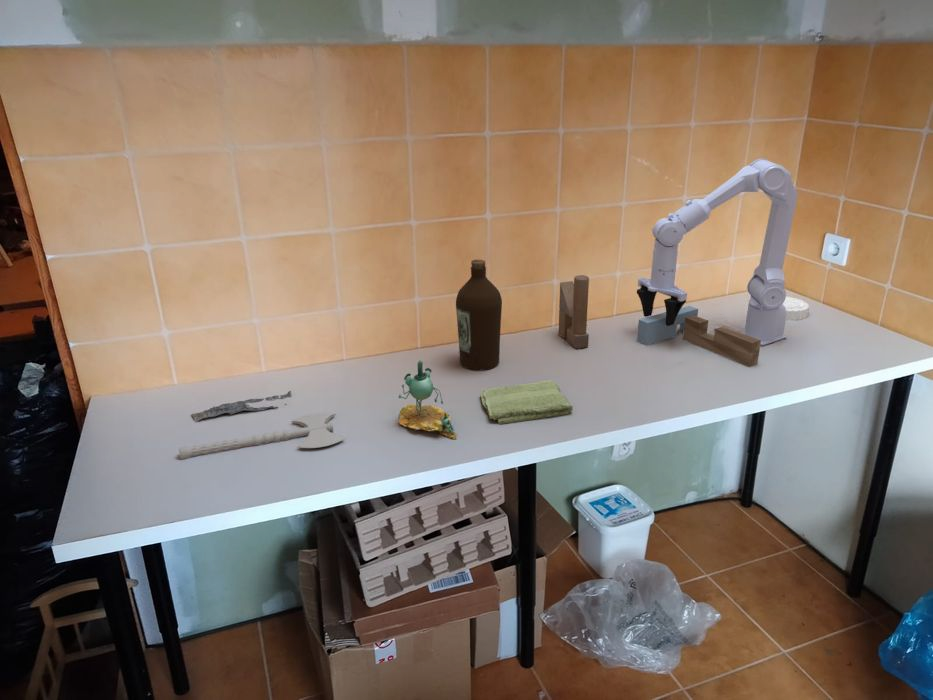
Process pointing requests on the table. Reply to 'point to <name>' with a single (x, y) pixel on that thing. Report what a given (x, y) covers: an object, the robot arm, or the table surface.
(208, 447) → the axe
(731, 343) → the walnut beam
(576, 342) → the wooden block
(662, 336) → the slate crossbar
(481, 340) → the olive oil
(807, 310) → the mooncake
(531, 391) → the washcloth
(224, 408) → the driftwood
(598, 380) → the table surface
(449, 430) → the frog figurine
